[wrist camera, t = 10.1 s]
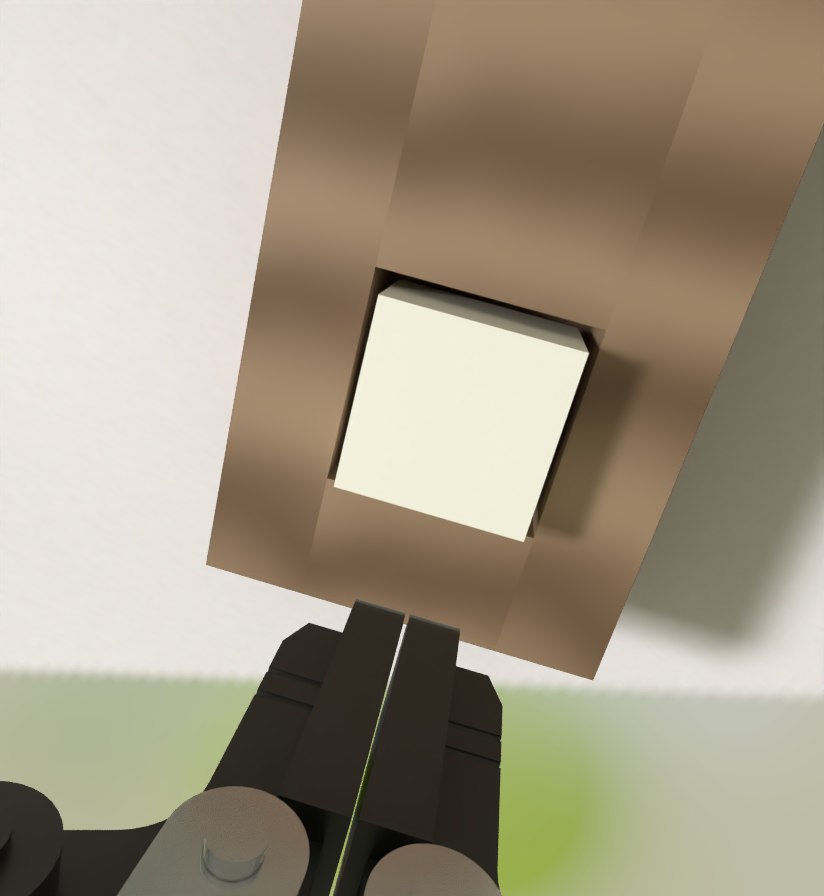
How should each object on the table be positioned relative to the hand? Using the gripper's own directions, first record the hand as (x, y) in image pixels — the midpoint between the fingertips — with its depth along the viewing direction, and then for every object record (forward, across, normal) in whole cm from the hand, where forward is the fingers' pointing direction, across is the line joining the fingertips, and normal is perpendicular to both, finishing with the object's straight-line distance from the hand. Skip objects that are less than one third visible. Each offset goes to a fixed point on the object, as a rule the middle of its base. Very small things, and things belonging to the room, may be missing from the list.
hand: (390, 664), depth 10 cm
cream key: (+16, 0, 0) cm, 16 cm away
